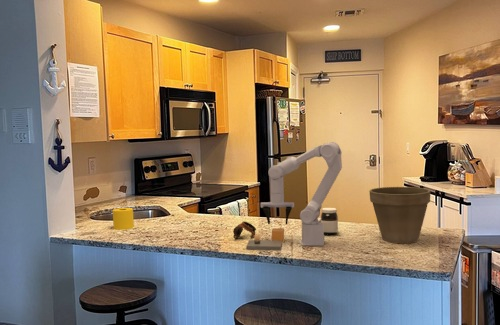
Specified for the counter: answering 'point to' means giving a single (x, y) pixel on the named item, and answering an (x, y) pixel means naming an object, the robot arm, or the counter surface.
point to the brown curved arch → (246, 226)
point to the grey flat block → (263, 244)
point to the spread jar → (329, 221)
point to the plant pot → (400, 212)
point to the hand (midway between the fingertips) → (277, 223)
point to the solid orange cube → (278, 234)
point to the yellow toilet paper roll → (123, 218)
